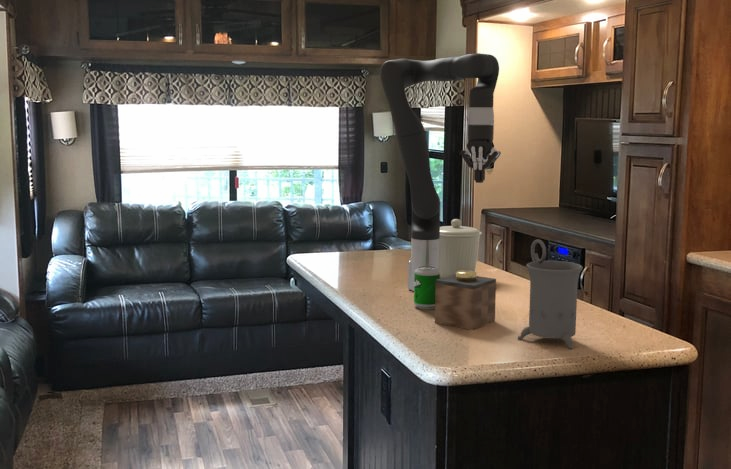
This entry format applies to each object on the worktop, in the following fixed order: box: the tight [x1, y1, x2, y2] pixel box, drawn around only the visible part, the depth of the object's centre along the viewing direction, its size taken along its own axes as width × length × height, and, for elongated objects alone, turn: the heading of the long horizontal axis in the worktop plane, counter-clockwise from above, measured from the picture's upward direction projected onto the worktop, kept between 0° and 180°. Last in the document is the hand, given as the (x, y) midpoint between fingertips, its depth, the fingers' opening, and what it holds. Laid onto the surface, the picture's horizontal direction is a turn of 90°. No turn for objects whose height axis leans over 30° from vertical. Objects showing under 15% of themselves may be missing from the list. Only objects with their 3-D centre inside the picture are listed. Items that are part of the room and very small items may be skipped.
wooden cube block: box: [434, 274, 497, 331], centre depth 216 cm, size 12×12×12 cm
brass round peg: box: [456, 270, 478, 281], centre depth 216 cm, size 6×6×12 cm
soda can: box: [413, 266, 441, 311], centre depth 233 cm, size 8×8×12 cm
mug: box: [517, 238, 584, 350], centre depth 198 cm, size 19×15×25 cm
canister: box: [439, 218, 483, 279], centre depth 277 cm, size 18×18×21 cm
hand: (479, 182), depth 232 cm, fingers closed
